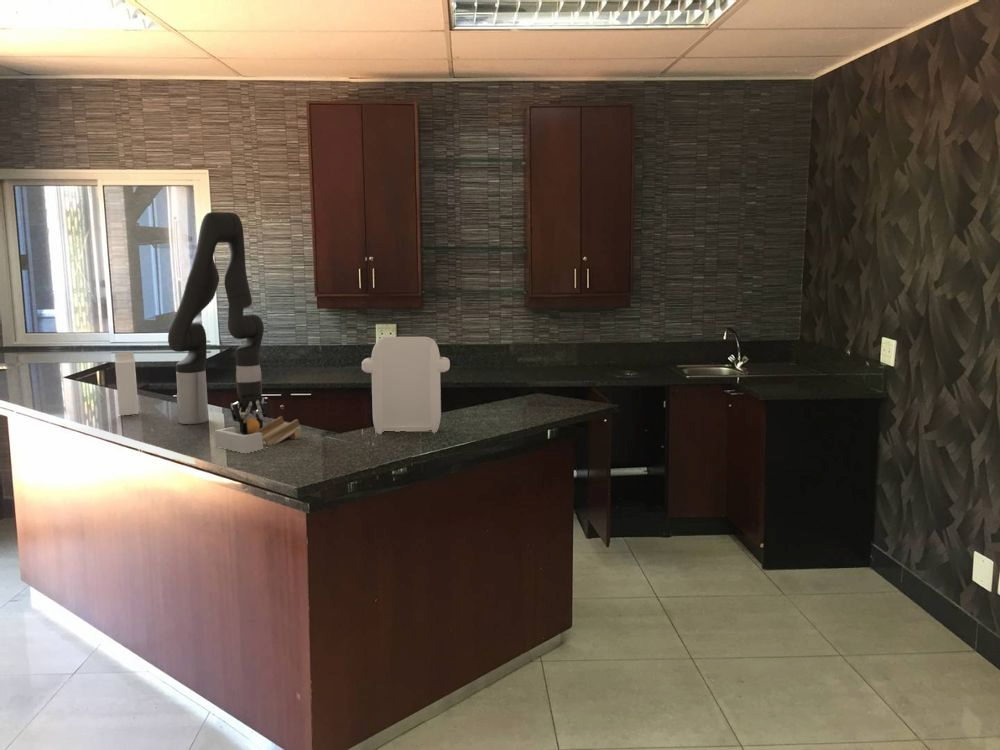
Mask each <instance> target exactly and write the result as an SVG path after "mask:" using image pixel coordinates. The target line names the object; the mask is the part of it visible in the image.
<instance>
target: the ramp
mask: <svg viewBox="0 0 1000 750" xmlns="http://www.w3.org/2000/svg"><path fill="white" fill-rule="evenodd" d="M301 429H302V428H301V425H300V421H299V419H297V418H295V419H294V420H291V422H285V421H284V418H283V416H281V415H280V416H278V417H277V418H275V419H274V420H271V422H268V423H267V424H265V425H263V427H262V428H261V429H259V430H258V431H256V432H254V433H258V432H260V433H262V443H266V445H265V446H267V445H270V446H272V445H271V444H274V445H277V444H279V443H281V442H282V441H284V440H285V439H287V438H288V439H293V440H297V438H298V439H301ZM276 443H277V444H276Z"/></svg>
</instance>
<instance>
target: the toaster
mask: <svg viewBox="0 0 1000 750" xmlns="http://www.w3.org/2000/svg"><path fill="white" fill-rule="evenodd" d="M439 350H440V349H439V346H438V344H437V343H436V341H435V340H434V339H433V338H431V337H428V336H385V337H382V338H380V339H378V341H377V342H376V343H375V344H374V346H373V348H372V351H371V357H367V358H364V359H363V360H362V361H361V370H362V372H364V373H367V374H371V396H372V397H371V398H372V399H371V400H372V401H371V405H372V408H371V409H372V423H373V427H374V429H375V431H376V433H377V434H378V435H382V433H383V432H384V431H395V432H397V433H398V432H399V433H401V432H400V431H406V432H430V431H429V430H432V431H431V432H432V434H433V433H434V434H436V433H437V432H438V430H439V427H440V423H441V418H442V417H441V416H442V400H441V399H442V398H441V397H442V395H441V392H442V391H441V388H442V387H441V373H445V372H447V371H449V370H450V367H451V366H450V365H451V363H450V362H451V361H450V359H449V358H448V357H446V356H441V354H440V351H439ZM395 432H394V433H395ZM435 432H436V433H435ZM384 433H385V432H384Z"/></svg>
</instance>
